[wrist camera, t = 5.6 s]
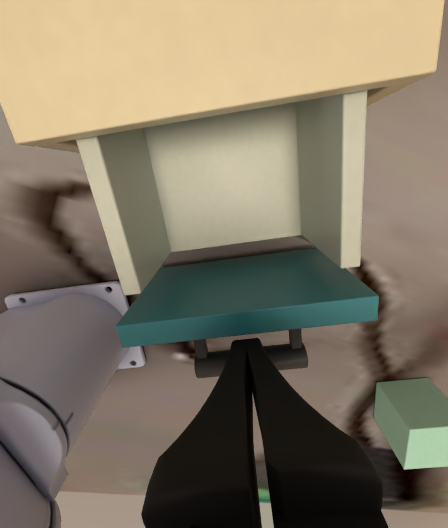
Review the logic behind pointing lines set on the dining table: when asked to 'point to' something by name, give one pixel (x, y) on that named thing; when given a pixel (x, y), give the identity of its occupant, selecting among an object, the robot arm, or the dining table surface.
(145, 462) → the dining table surface
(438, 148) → the dining table surface
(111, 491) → the dining table surface
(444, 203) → the dining table surface
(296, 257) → the drawer
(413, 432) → the sage green cube
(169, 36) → the beige box
